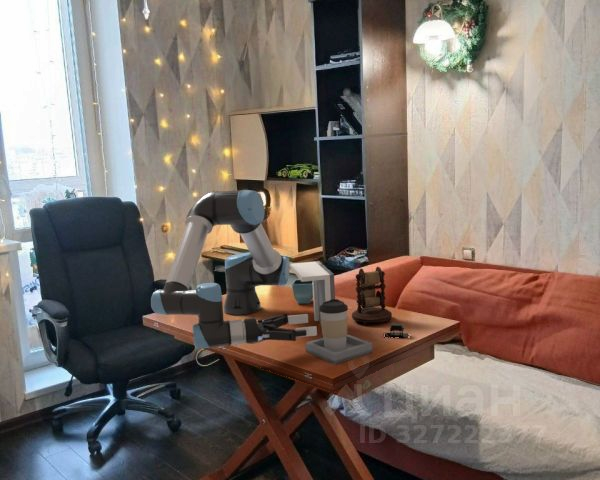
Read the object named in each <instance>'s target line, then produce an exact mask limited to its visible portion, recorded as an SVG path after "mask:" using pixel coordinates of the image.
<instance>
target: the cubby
mask: <svg viewBox="0 0 600 480" xmlns="http://www.w3.org/2000/svg"><path fill="white" fill-rule="evenodd" d="M290 269H291V271H292V272H293V273H294V274H295V275H296V277H297V278H298V280H301V281H302V282H304V281H313V298H312V300H313V313H314V314H313V318H314V322H319V323H320V324H321V314H320V311H319V310H320V306H321V305H322V304H323V302H326V301H329V300H331V299H336V291H335V290H336V288H335V274H334V273H333V272H332V271H331V270H330V269H328V268H327V266H325V265H324V264H323V263H322V262H321V261H319V260H317V261H308V262H294V263H290Z"/></svg>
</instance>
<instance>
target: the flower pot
mask: <svg viewBox="0 0 600 480" xmlns="http://www.w3.org/2000/svg"><path fill="white" fill-rule="evenodd" d="M291 287H292V293H293V297H294V299H295V301H296V302H297V304H308V305H309V304H311V302H312V300H313V281H304V282H302V281H301V280H300V279H294V281H293V282H292V283H291Z"/></svg>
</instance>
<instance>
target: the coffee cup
mask: <svg viewBox="0 0 600 480" xmlns="http://www.w3.org/2000/svg"><path fill="white" fill-rule="evenodd" d="M348 310H349V308H348V304H345V302H344V301H342V300H339V299H336V298H335V299H331V300H329V301H326V302H323V304H322V305H321V306H320V310H319V311H320V314H321V323H320V325H321V333H322V336H323V337H322V338H324V346H325V348H326V349H328V350H331V351H339V350H343V349H345V348H346V336H347V334H348V318H349V317H348Z"/></svg>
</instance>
